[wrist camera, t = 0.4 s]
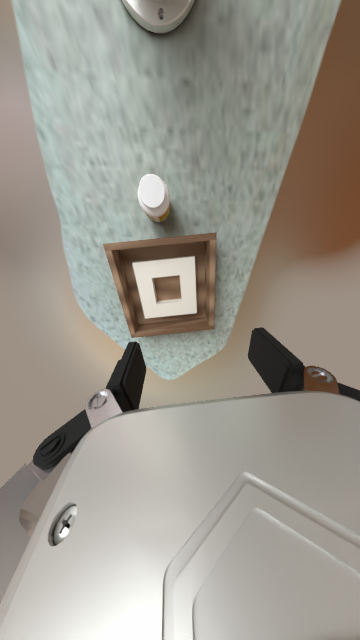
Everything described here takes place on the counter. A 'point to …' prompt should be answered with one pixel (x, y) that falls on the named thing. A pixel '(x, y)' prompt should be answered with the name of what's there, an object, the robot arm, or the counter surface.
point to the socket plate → (163, 269)
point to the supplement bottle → (154, 197)
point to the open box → (165, 282)
